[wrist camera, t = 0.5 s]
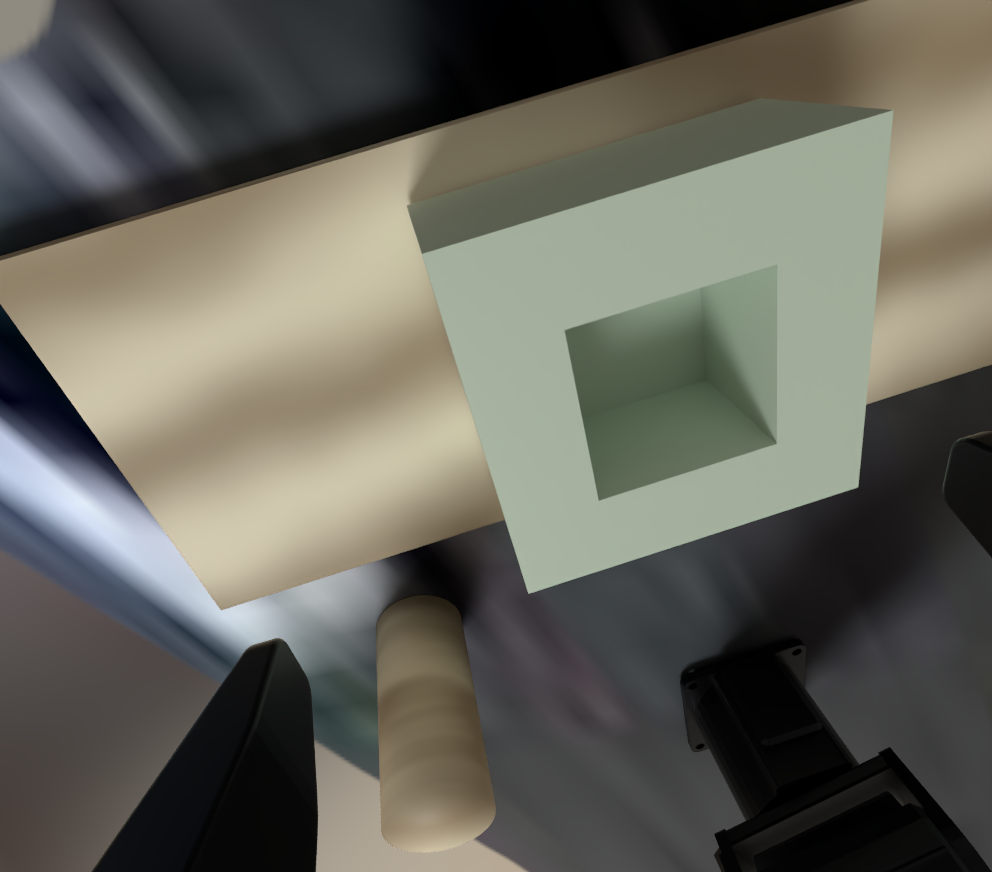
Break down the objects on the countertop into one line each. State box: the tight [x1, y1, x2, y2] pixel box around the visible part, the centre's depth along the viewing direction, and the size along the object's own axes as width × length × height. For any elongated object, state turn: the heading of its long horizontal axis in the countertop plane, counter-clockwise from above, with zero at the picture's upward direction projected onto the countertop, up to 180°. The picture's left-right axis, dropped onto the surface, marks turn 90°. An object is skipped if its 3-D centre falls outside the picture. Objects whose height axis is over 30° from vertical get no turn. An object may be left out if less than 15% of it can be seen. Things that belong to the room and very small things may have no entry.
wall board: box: [0, 0, 992, 610], centre depth 17 cm, size 13×32×7 cm, turn 104°
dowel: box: [376, 595, 496, 853], centre depth 23 cm, size 4×4×8 cm
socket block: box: [406, 98, 894, 594], centre depth 17 cm, size 10×10×5 cm
